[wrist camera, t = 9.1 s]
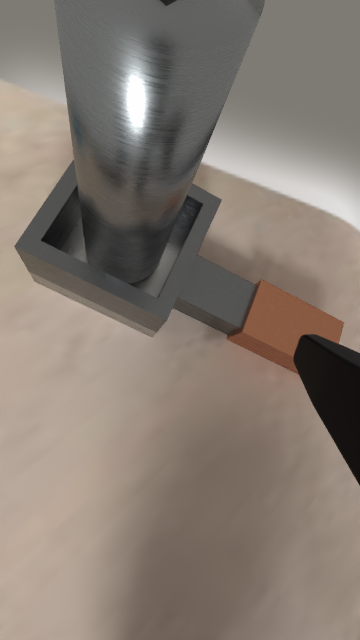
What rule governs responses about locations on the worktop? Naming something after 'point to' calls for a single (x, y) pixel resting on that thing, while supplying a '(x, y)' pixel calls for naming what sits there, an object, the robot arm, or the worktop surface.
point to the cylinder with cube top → (144, 113)
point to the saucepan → (169, 280)
